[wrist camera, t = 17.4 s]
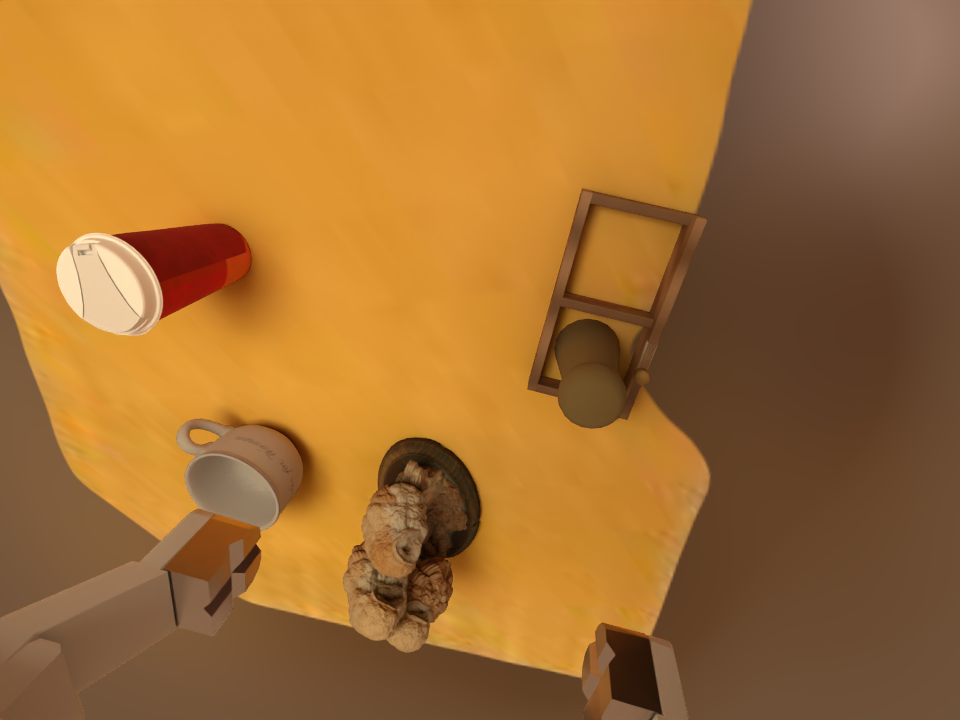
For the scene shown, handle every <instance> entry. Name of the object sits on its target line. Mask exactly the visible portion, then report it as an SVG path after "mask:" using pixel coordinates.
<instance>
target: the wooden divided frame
mask: <svg viewBox="0 0 960 720" xmlns="http://www.w3.org/2000/svg"><path fill="white" fill-rule="evenodd" d="M590 203H591V204H595V205H600V206H604V207H608V208H613V209H617V210H621V211H626V212H630V213H635V214H639V215H643V216H648V217H652V218H657V219H661V220H665V221H670V222H674V223H678V224H683V226H682V229H681V231H680V234H679V237H678V239H677V242H676V244H675V247H674V250H673V252H672V255H671V258H670V260H669V263H668V265H667V268H666V271H665V273H664V276H663V279H662V281H661V284H660V286H659V289H658V292H657V294H656V297H655V300H654V302H653V305H652V307H651V310H650V312H647V311H643V310H639V309H634V308H630V307H626V306H622V305H618V304H614V303H609V302H605V301H601V300H597V299H593V298H589V297H585V296H580V295H576V294H572V293H568V292H564V291H565V288H566V284H567V281H568V277H569V274H570V271H571V267H572V264H573V260H574V257H575V253H576V250H577V246H578V243H579V240H580V236H581V233H582V229H583V226H584V222H585V219H586V215H587V212H588V208H589V205H590ZM706 223H707V219H705V218H703V217H701V216H699V215H696V214H691V213H687V212H682V211H678V210H674V209H669V208H665V207H660V206H656V205H651V204H647V203H643V202H638V201H634V200H629V199H625V198H621V197H616V196H612V195H607V194H603V193H598V192H594V191H590V190H585V189H582V191H581V194H580V198H579V202H578V205H577V209H576V212H575V216H574V220H573V223H572V227H571V230H570V234H569V238H568V241H567V245H566V248H565V252H564V255H563V259H562V263H561V266H560V270H559V273H558V277H557V281H556V284H555V288H554V291H553V295H552V298H551V302H550V306H549V309H548V313H547V316H546V320H545V324H544V327H543V331H542V334H541V338H540V341H539V345H538V349H537V352H536V356H535V359H534V363H533V367H532V370H531V374H530V377H529V382H528V390H532V391H536V392H540V393H544V394H548V395H552V396H556V397H558V389H559V384H560V382H561V381H560V380H556V379H552V378H548V377H544V376H540V374H541V371H542V367H543V364H544V360H545V357H546V353H547V350H548V347H549V343H550V340H551V336H552V333H553V329H554V326H555V322H556V319H557V315H558V312H559V309H560V306H562V307H566V308H570V309H575V310H579V311H583V312H587V313H591V314H595V315H599V316H603V317H607V318H612V319H616V320H620V321H624V322H628V323H632V324H636V325H640V326H644V328H643V331H642V334H641V336H640V339H639V342H638V344H637V347H636V350H635V352H634V355H633V357H632V360H631V363H630V365H629V368H628V371H627V373H626V376H625V378H624V381H623V382H624V384H625V386H626V391H627V401H626V404H625V408H624V411H623V412H622V414H621V415H620V417H619V418H622V419H626V420H627V419H628V417H629V414H630V412H631V409H632V407H633V404H634V403H635V400H636V398H637V395H638V393H639V390H640V388H641V385H645V384H647V383H648V382H649V380H650V377H649V374H648V372H647V370H648V367H649V365H650V363H651V360H652V358H653V355H654V353H655V350H656V348H657V344H658V342H659V340H660V337H661V335H662V332H663V330H664V327H665V325H666V322H667V320H668V317H669V315H670V312H671V310H672V307H673V305H674V302H675V300H676V297H677V294H678V292H679V290H680V287H681V285H682V282H683V280H684V277H685V275H686V272H687V270H688V267H689V265H690V262H691V260H692V258H693V255H694V252H695V250H696V248H697V245H698V243H699V240H700V238H701V235H702V232H703V230H704V228H705V225H706Z"/></svg>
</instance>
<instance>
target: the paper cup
mask: <svg viewBox="0 0 960 720" xmlns="http://www.w3.org/2000/svg"><path fill="white" fill-rule="evenodd" d="M250 265H251V252H250V249H249V246H248V244H247V242H246V240H245V239H244V238H243V236H242V235H241V234H240V233H239V232H238V231H236V230H235V229H234V228H232V227H230V226H228V225H225V224H203V225H194V226H185V227H177V228H168V229H160V230H151V231H142V232H131V233H123V234H115V235H109V234H104V233H90V234H86V235H83V236H81V237H80V238H78V239H77V240H76V241H75V242H74V243H73V244H71V245H70V246H68V247H67V248H66V249H65V250H64V251H63V252H62V253H61V255H60V257H59V259H58V263H57V279H58V283H59V286H60V289H61V292H62V293H63V295H64V297H65V299H66V301H67V302H68V304H69V305H70V306H71V308H72V309H73V310H74V311H75V312H76V313H77V314H78V315H79V316H80V317H81V318H82V319H83V320H85V321H87V322H88V323H90V324H91V325H93V326H95V327H97V328H99V329H101V330H104V331H108V332H112V333H114V334H118V335H133V336H135V335H142V334H145V333H147V332H148V331H149V330H150V329H151V328H152V327H153V326H155V325H156V323H157V322H158V320H160V319H162V318H164V317H166V316H168V315H170V314H172V313H174V312H176V311H178V310H180V309H182V308H184V307H186V306H188V305H190V304H192V303H194V302H196V301H198V300H200V299H202V298H204V297H206V296H207V295H209V294H211V293H213V292H215V291H217V290H219V289H221V288H223V287H225V286H227V285H229V284H231V283H233V282H234V281H236V280H238V279H240V278H241V277H243V276H244V275H245V274H246V273H247V272H248V270H249V268H250Z"/></svg>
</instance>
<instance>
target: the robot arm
mask: <svg viewBox="0 0 960 720" xmlns="http://www.w3.org/2000/svg"><path fill="white" fill-rule="evenodd" d="M260 538H261V534H260V527H257V526H254V525H251V524H248V523H245V522H241V521H238V520H235V519H232V518H228V517H225V516H222V515H219V514H216V513H212V512H209V511H205V510H202V509H196V510H194V511H192V512H190V513H189V514H188V515H187V516H186V517H185V518H184V519H183V520H182V521H181V522H180V523H179V524H178V525H177V526H176V527H175V528H174V529H173V530H172V531H171V532H170V533H169V534H167V535H166V536H165V537H164V538H163V539H162V540H161V541H160V542H159V543H158V544H157V545H156V546H155V547H154V548H153V549H152V550H151V551H150V552H149V553H148V554H147V555H146V556H145V557H144V558H143V559H142V560H141V561H140V562H139V563H137V562H134V561H132V562H130V563H127V564H125V565H122V566H120V567H118V568H116V569H113V570H111V571H109V572H106V573H104V574H101V575H99V576H97V577H94V578H92V579H90V580H87V581H85V582H83V583H80V584H78V585H76V586H73V587H71V588H69V589H66V590H64V591H61V592H59V593H57V594H54V595H52V596H50V597H48V598H45V599H43V600H40V601H38V602H36V603H33V604H31V605H29V606H26V607H24V608H22V609H19V610H17V611H15V612H12V613H10V614H8V615H5V616H3V617H1V618H0V720H84V711H83V708H82V705H81V702H80V699H79V697H78V694H77V693H78V692H80V691H82V690H83V689H85V688H86V687H88V686H90V685H91V684H93V683H94V682H96V681H97V680H99V679H100V678H102V677H104V676H105V675H107V674H108V673H110V672H111V671H113V670H114V669H116V668H118V667H119V666H121V665H122V664H123V663H125V662H126V661H128V660H130V659H131V658H133V657H135V656H136V655H138V654H139V653H141V652H142V651H144V650H145V649H147V648H148V647H150V646H151V645H153V644H155V643H156V642H158V641H159V640H161V639H162V638H164V637H165V636H167V635H169V634H170V633H172V632H173V631H175V630H176V627H179V628H183V629H187V630H191V631H194V632H198V633H202V634H206V635H209V636H214V635H215V634H216V632H217V631H218V629H219V628H220V627H221V625H222V624H223V622H224V621H225V620H226V618H227V617H228V615H229V614H230V613H231V611H232V610H233V598H235V597H237V596H239V595H240V594H242V593H244V592H246V590H247V589H248V587H249V586H250V584H251V583H252V581H253V580H254V577H255V575H256V573H257V571H258V569H259V565H260V561H261V550H260V549H259V547H258V546H257V545H256V543H257V542H258V540H259V539H260ZM595 636H596V641H595V642H593V643H591V644H589V646H588V648H587V651H586V653H585V657H584V662H583V668H582V690H583V692H584V694H585V696H586V698H587V699H588V703H587V705H586V707H585V709H584V711H583V720H689V718H688V713H687V709H686V704H685V700H684V696H683V691H682V687H681V682H680V677H679V673H678V669H677V664H676V660H675V656H674V651H673V647H672V645H671V643H670V642H669V641H667V640H663V639H660V638H656V637H652V636H649V635H645V634H644V633H640V632H636V631H632V630H629V629H625V628H621V627H617V626H614V625H610V624H606V623H601V624H599V626H598V628H597V630H596V632H595Z"/></svg>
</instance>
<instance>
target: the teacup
mask: <svg viewBox="0 0 960 720" xmlns="http://www.w3.org/2000/svg"><path fill="white" fill-rule="evenodd" d="M192 429H203V430H207V431H210V432H213V433H215V434H217V435H219V436H220V438H219V439H217V440H216V441H215V442H209V443H206V444H203V445H199V444H196V443H194V442H193V441H192V440H191V438H190V436H189V434H190V431H191V430H192ZM176 440H177V444H178V445H179V447H180V448H181V449H182V450H183V451H185V452H186V453H189V454H191V455H196V457H195V458H194V459H193V460H192V461H191V462H190V463H189V464H188V466H187V469H186V471H185V483H186V486H187V489H188V492H189V493H190V496H191V497H192V499H193V500H194V501H195V503H196V504H197V505H198V507H199V508H200V509H202V510H205V511H209V512H212V513H216V514H219V515H222V516H225V517H228V518H232V519H235V520H238V521H241V522H245V523H248V524H251V525H254V526H257V527H260V531H262V530H266V529H268V528H269V527H271V526H272V525H273V524H274V523H275V522H276V521H277V519H278V517H279V515H280V513H281V512H282V511H283V510H284V508H285V507H286V506H287V504H288V503H289V502H290V500H291V499H292V497H293V496H294V494H295V493H296V492H297V490H298V488H299V486H300V484H301V481H302V478H303V463H302V460H301V457H300V455H299V453H298V451H297V450H296V448H295V446H294V445H293V443H292V442H291V441H290V440H289V439H288V438H287V437H286V436H284V435H283V434H281V433H280V432H278V431H275V430H273V429H270V428H267V427H264V426H260V425H245V426H240V427H237V428H235V427H233V426H231V425H226V426H225V425H222V424H220V423H217V422H214V421H211V420H206V419H193V420H190V421H188V422H186V423H185V424H183V425H182V426H181V428H180V429H179V430H178V433H177V436H176Z"/></svg>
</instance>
